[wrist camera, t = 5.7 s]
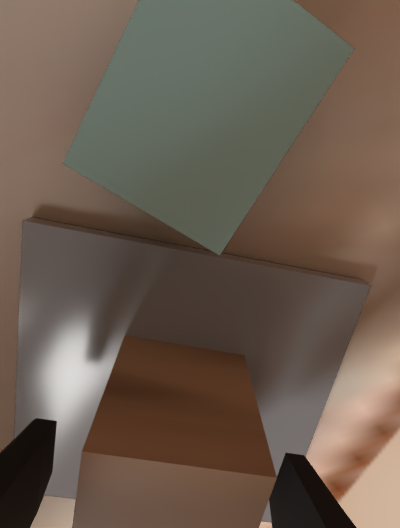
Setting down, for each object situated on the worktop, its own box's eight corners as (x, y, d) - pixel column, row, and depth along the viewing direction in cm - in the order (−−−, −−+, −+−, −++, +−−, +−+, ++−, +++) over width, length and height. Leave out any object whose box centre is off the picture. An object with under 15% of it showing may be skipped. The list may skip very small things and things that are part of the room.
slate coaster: (276, 510, 16) (279, 523, 15) (18, 478, 15) (11, 491, 14) (362, 279, 12) (370, 285, 12) (31, 217, 11) (22, 220, 11)
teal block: (210, 222, 12) (219, 255, 8) (107, 160, 11) (62, 163, 7) (294, 87, 10) (354, 47, 7) (184, 6, 10) (180, -90, 6)
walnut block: (218, 447, 14) (232, 599, 9) (109, 431, 13) (65, 582, 9) (244, 355, 12) (276, 477, 8) (124, 335, 12) (81, 451, 7)
